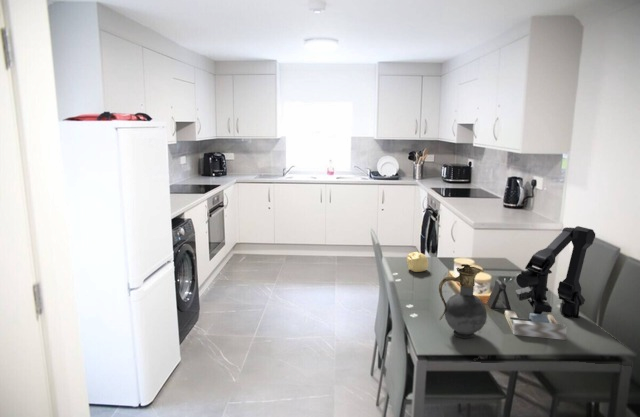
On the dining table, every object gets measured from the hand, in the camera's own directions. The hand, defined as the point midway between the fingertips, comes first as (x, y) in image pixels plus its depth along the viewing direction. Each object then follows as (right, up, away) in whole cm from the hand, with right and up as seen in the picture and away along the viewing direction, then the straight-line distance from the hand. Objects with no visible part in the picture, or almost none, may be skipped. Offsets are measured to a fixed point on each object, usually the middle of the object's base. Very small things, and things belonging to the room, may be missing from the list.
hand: (535, 318), depth 182 cm
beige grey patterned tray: (-2, -3, -2) cm, 4 cm away
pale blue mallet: (-5, -3, -3) cm, 7 cm away
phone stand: (-8, +1, +18) cm, 20 cm away
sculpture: (-35, +11, +66) cm, 75 cm away
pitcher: (-35, -4, -9) cm, 37 cm away
